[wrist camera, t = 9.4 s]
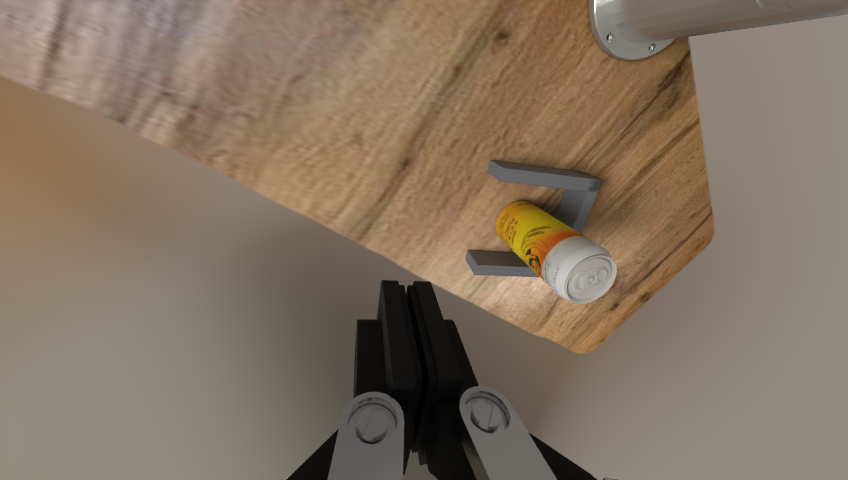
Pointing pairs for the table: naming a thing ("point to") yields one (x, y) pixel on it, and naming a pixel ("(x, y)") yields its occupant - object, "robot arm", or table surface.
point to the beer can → (557, 252)
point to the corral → (570, 212)
